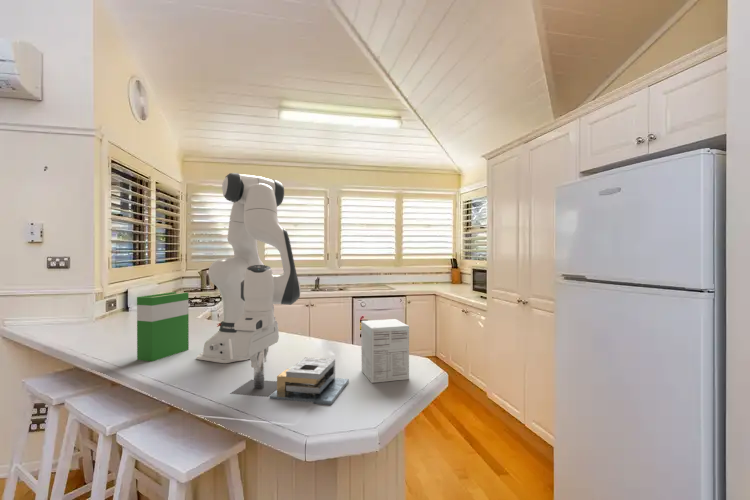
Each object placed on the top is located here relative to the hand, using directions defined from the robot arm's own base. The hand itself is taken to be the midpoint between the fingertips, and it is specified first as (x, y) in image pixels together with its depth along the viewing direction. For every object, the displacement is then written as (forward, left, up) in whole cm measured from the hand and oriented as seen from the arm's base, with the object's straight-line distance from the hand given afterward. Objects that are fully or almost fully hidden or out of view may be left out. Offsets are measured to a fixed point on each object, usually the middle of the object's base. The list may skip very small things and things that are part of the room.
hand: (258, 364), depth 115 cm
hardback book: (-56, +27, -8) cm, 63 cm away
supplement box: (+35, +20, -8) cm, 41 cm away
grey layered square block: (+16, +2, -7) cm, 18 cm away
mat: (0, 0, -7) cm, 7 cm away
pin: (0, 0, -7) cm, 7 cm away
